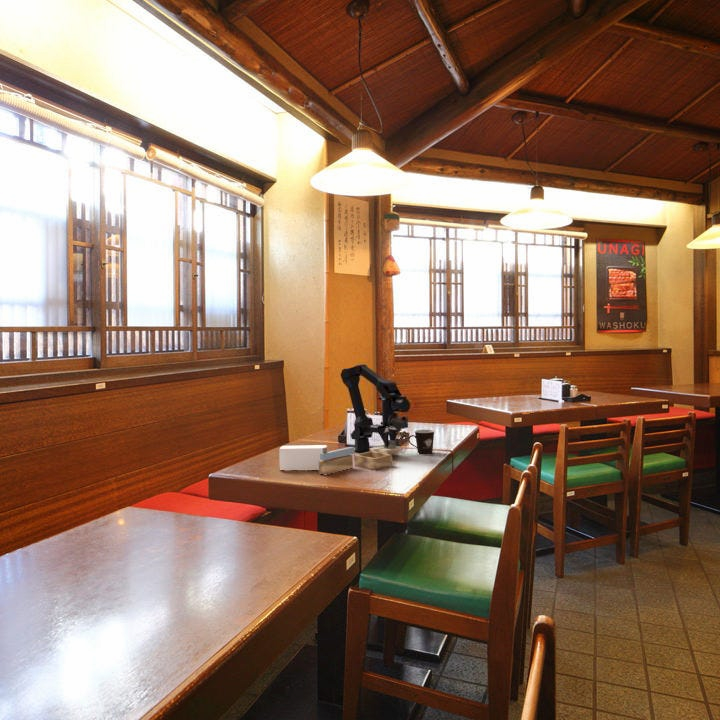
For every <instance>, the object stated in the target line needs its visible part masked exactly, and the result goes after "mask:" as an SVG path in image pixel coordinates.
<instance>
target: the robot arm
mask: <svg viewBox="0 0 720 720" xmlns="http://www.w3.org/2000/svg"><path fill="white" fill-rule="evenodd" d="M361 377H362V378H364V379H366V380H367V381H368V382H370V383H371V384H372V385H374V386H375V389H376V391H377V392H378V393H379V394H380V396H379V397H378V398H377V400H378V401H381V412H380V413H379V416H381V417H382V421H380V424H374V423H373V418H372V417H369V416H367V414H366V409H365V406H364V402H363V398H362V395H361V391H360V387H359V383H360V381H361ZM340 379H341V381H342V383H343V384H344V386H345V387H346V388H347V390H348V393H349V397H350V401H351V405H352V409H353V413H354V417H355V419H354V423H353V427H354V430H353V431H352V432H351V433H350V439H351V440H354V453H357V454H361V453H365V452H369V451H370V439H369V438H372V437H373V434H374V433H375V434H378V435H379V436H380V438H381V440H382V441H383V445H384V444H385V446H386V447H388V440H394V441H395V442H396V439H397V435H398V434H399V433H400V431H401V432H402V429H403V430H404V429H407V428H409V423H408V422H409V419H408V416H400V417H399V413H408V412H409V411H410V409H411V403H410V401H409V400H408V399H407V396H406V395H404V396H403V395H402V393H401V392H400V389H399V388H398V386H397V383H396V382H395V381H392V379H389V378H384V377H383V376H381V375H379V374H378V373H376V371H374V370H373V369H372V368H370V367H368V365H367V364H365V363H362V364H357V365H354V366H353V367H349V368H342V370H341V373H340Z"/></svg>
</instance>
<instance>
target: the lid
mask: <svg viewBox="0 0 720 720" xmlns="http://www.w3.org/2000/svg"><path fill="white" fill-rule="evenodd" d="M396 444H397V443H396V440H395V441H394V440H390V439H388V447H386V446H385V444H384V443H383V445H378V446H374V447H369V449H370V451H374V452H380V453H385V454H390V455H392V454H394V453H399V452H401V451H404V450H405V447H404V446H397V445H396Z"/></svg>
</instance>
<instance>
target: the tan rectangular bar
mask: <svg viewBox="0 0 720 720" xmlns="http://www.w3.org/2000/svg"><path fill="white" fill-rule="evenodd" d="M353 461H354V457H353V454H350V455H346V456H341V457H337V458H332V459H328V460H321V461H319V471H318V472H319V473H318V475H319V474H323V475H325V474H329V473H333V474H335V473H334V472H337V473H339V472H338V471H341V472H343V471H342V470H345V471H347V470H346V469H349V470H351V469H350V468H354V465H353V463H354V462H353ZM323 475H322V476H323ZM329 475H330V474H329ZM325 476H326V475H325Z"/></svg>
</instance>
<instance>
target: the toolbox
mask: <svg viewBox="0 0 720 720" xmlns="http://www.w3.org/2000/svg"><path fill="white" fill-rule="evenodd" d="M353 461H354V462H353V463H354V465H355V466H354V465H353V466H354V467H357V466H359V467H358V468H362V467H363V468H364V469H366V468H367V469H368V470H371V471H377V470H382V469H385V468H389V467H392V466H393V454H386V453H380V452H374V451H369V452H365V453H357V454H354V455H353ZM363 468H362V469H363Z"/></svg>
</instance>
